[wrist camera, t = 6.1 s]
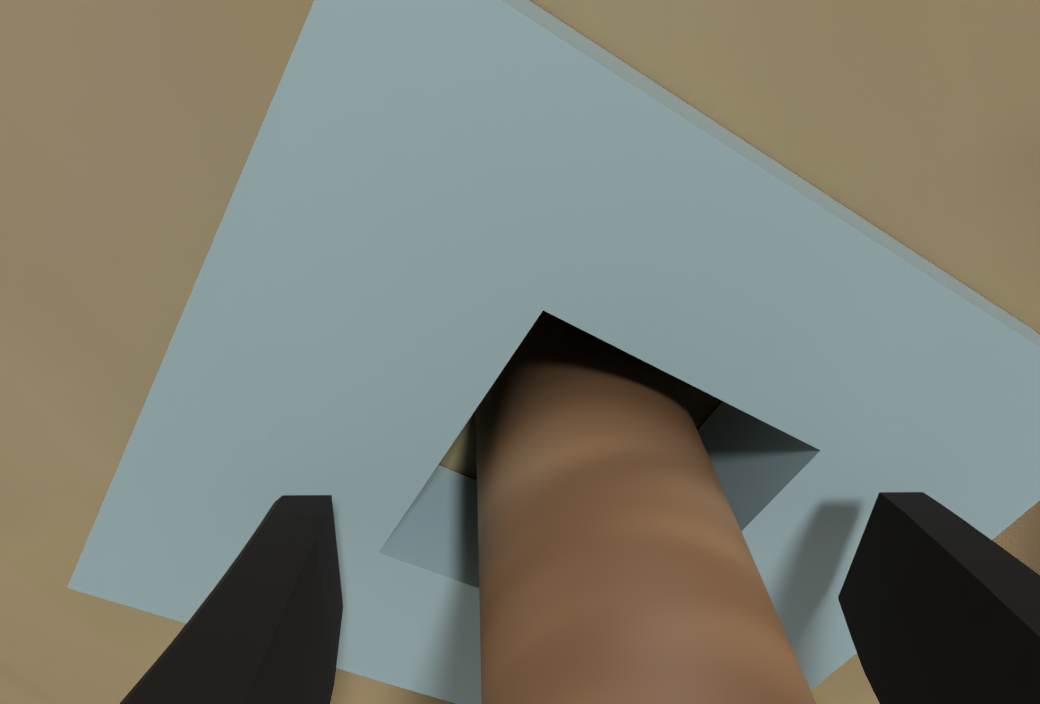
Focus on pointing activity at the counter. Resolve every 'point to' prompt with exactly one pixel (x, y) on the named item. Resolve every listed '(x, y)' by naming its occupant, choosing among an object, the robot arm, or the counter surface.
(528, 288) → the board
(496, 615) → the peg
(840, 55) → the counter surface
